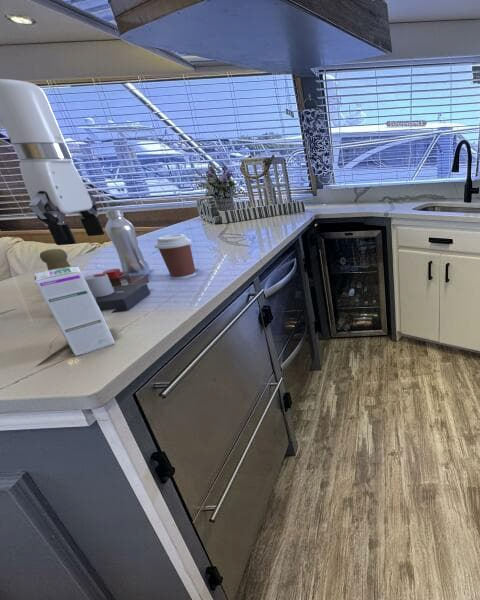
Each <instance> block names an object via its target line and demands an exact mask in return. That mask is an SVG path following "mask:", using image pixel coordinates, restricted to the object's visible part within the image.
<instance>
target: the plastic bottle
mask: <svg viewBox="0 0 480 600" xmlns="http://www.w3.org/2000/svg"><path fill="white" fill-rule="evenodd" d="M104 213H105V217H106V218H108V219H107V222H106V224H105V231H104V232H105V233H106V235H107V237H108V238H109V240H110V241H111V242H112V244H113V247H114V249H115V250H116V253H117V256H118V259H119V262H120V270H121V272H128V273H129V276H136V275H149V274H150V272H151V269H150V268H151V267H150V265H149V263H148V261H147V260H146V259H145V256H144V255H143V252H142V251H141V249H140V245H139V242H138V239H137V233H136V229H135V226H134V225H133V223H131V222H130V221H129V220H127V219H126V218H125V214H124V213H123V210H122V208H116V209H115V208H114V209H106V210H104Z"/></svg>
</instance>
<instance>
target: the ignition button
mask: <svg viewBox="0 0 480 600" xmlns="http://www.w3.org/2000/svg"><path fill="white" fill-rule="evenodd" d="M121 272H122V270H121V268H112V269H106V270H103V272H102V273H106V274H107V275H108V277H109V278H112V277H117V276H120V275H122V274H121Z"/></svg>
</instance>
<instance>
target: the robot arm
mask: <svg viewBox="0 0 480 600" xmlns="http://www.w3.org/2000/svg"><path fill="white" fill-rule="evenodd" d="M0 130H5V132H6V135H7V137H8V139H9V141H10V143H11V145H12V147H13V149H14V152H15V154H16V156H17V158H18V160H19V163H18V164H19V170H20V174H21V177H22V181H23V183H24V186H25V189H26V191H27V194H28V196H29V199H30V202H29V204H28V207H29V209H30V211H32V212H33V213H34V214H35V215H36V218H37V219H38V220H39V221H41V222H42V223H43V226H45V227H47V229H48V230H49V233H50V235H51V237H52V238H53V241H54V243H55V244H56V246H67V245H69V246H70V245H74V244H76V243H77V240H76V239H75V237H74V235H73V232H72V230H71V228H70V226H69V223H68V224H67V223H65V221H66V214H67V215H68V214H73V213H77V214H78V215H79V216H80V217H81V218H80V221H81V224H82V226H83V228H84V231H85V233H86V235H87V236H88V237H94V236H103V235H105V231H104V229H103V226H102V224H101V222H100V219H99V212H97V211H98V206H97V204H96V197H95V196H94V195H92V194H90V193H89V192H88V189H87V187H86V184H85V183H84V181H83V179H82V177H81V175H80V173H79V171H78V170H77V168H76V166H75V164H74V163H73V162H74V160H73V157H72V156H71V152H70V150H69V148H68V145H67V143H66V140H65V138H64V136H63V133H62V131H61V129H60V125H59V124H58V121H57V119H56V116H55V114H54V112H53V110H52V107H51V104H50V102H49V100H48V98H47V96H46V93H45V92H44V90H43V89H42V88H41V87H40V86H38V85H37V84H35V83H32V82H30V81H25V80H18V79H10V78H9V79H7V78H0Z"/></svg>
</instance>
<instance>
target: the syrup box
mask: <svg viewBox="0 0 480 600" xmlns="http://www.w3.org/2000/svg"><path fill="white" fill-rule="evenodd" d="M84 277H85V276H84V275H83V272H82V271H81V269H80V267H79V266H77V265H75V266H74V265H73V266H71V267H64V268H58V269H53V270H49V271H48V270H46V271H41V272H37V273H34V278H33V280H34V284H35V285H36V287H37V289H38V291H39V292H40V294H41V296H42V298H43V301H44V302H45V304H46V306H47V308H48V310H49V311H50V313H51V315H52V317H53V318H54V321H55V322H56V324H57V326H58V328H59V329H60V331H61V333H62V335H63V337H64V339H65V340H66V342H67V344H68V346H69V348H70V350H71V351H72V353H73V355H74V356H76V357H77V356H81V355H85V354H88V353H92V352H94V351H97V350H100V349H101V350H102V349H103V348H107V347H109V346H112V345H115V340H114V337H113V334H112V333H111V330H110V328H109V326H108V324H107V322H106V320H105V317H104V315H103V313H102V310H101V311H100V308H99V306H98V304H97V302H96V300H95V298H94V296H93V294H92V292H91V290H90V288H89V286H88V284H87V283H86V281H85V279H84Z"/></svg>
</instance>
